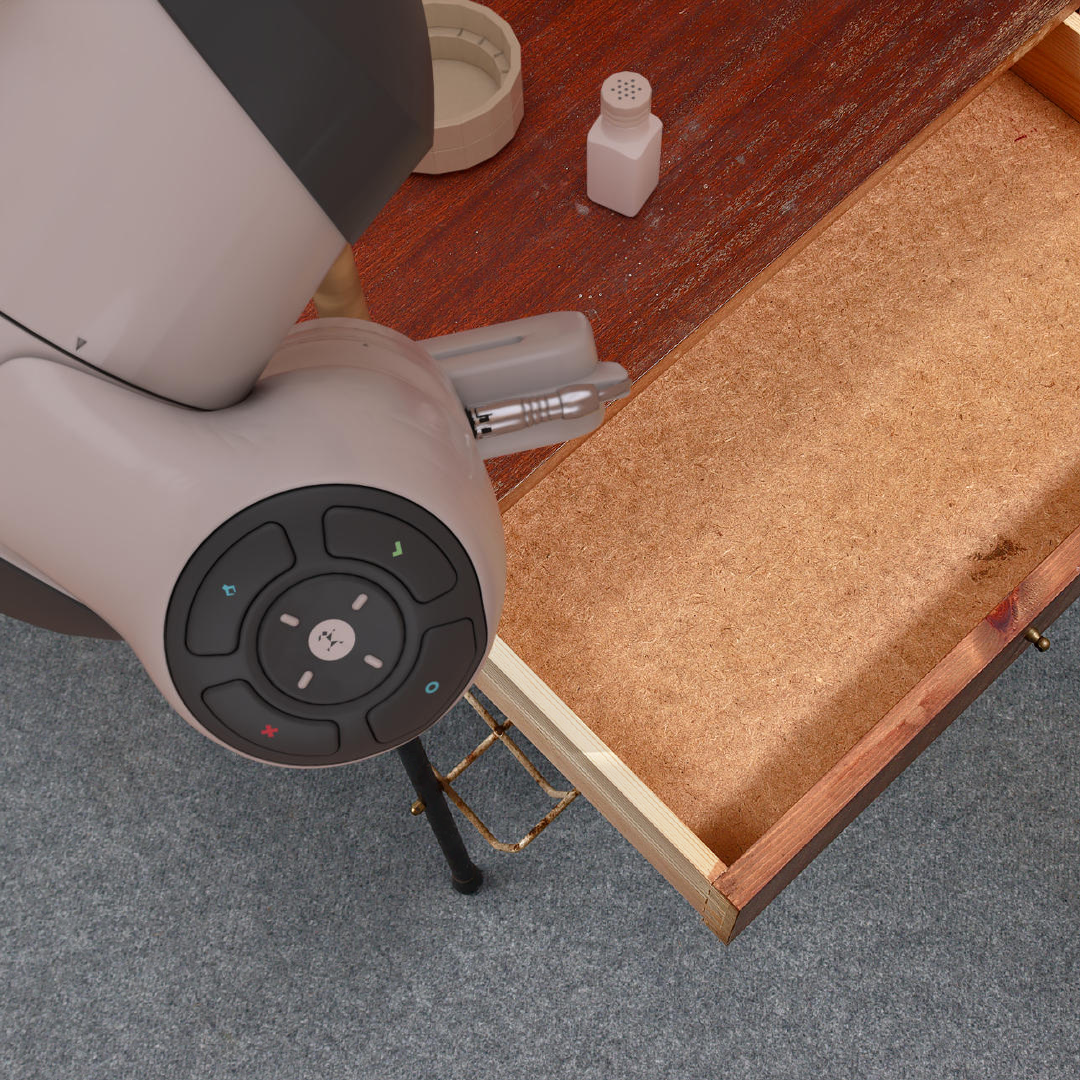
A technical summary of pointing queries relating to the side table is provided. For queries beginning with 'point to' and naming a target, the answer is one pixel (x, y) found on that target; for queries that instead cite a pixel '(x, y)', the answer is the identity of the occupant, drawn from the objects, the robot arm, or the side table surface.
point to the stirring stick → (341, 290)
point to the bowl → (471, 84)
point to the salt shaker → (624, 145)
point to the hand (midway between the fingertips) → (344, 377)
